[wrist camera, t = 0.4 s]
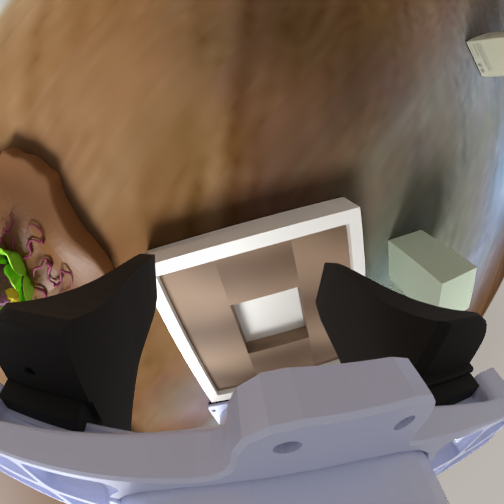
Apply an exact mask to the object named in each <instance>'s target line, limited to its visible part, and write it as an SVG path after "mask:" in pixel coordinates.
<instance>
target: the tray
mask: <svg viewBox="0 0 504 504" xmlns="http://www.w3.org/2000/svg"><path fill="white" fill-rule="evenodd" d="M342 225H346V227H347V236H348V245H349V255H350V267H351V269H352V270H354V271H356V272H358V273H360V274H362V275H363V276H365V258H364V243H363V231H362V220H361V211H360V207H359V206H358V205H356V204H354V203H353V202H351V201H349V200H348V199H346V198H344V197H340V198H336V199H332V200H328V201H324V202H320V203H316V204H312V205H308V206H304V207H300V208H297V209H293V210H289V211H285V212H281V213H278V214H274V215H270V216H266V217H263V218H259V219H255V220H251V221H248V222H244V223H241V224H237V225H233V226H230V227H226V228H223V229H219V230H216V231H212V232H209V233H205V234H202V235H198V236H195V237H191V238H188V239H184V240H181V241H178V242H174V243H171V244H168V245H164V246H161V247H158V248H154V249H151V250H148V251H147V252H146V254H155V266H156V283H157V302H156V307H157V309H158V311H159V313H160V315H161V316H162V318H163V320H164V322H165V324H166V326H167V328H168V330H169V332H170V333H171V335H172V337H173V339H174V341H175V343H176V344H177V346H178V348H179V350H180V351H181V353H182V355H183V357H184V358H185V360H186V362H187V364H188V365H189V367H190V369H191V370H192V372H193V374H194V375H195V377H196V379H197V380H198V382H199V383H200V385H201V387H202V388H203V390H204V391H205V393H206V395H207V396H208V398H209V399H210V401H211V402H217V401H223V400H228V399H230V398H231V396H232V394H233V392H234V391H235V389H236V387H234V388H230V389H225V390H220V391H217V389H216V387H215V386H214V384H213V382H212V380H211V379H210V377H209V375H208V373H207V371H206V370H205V368H204V366H203V364H202V362H201V361H200V359H199V357H198V355H197V353H196V351H195V349H194V347H193V346H192V344H191V342H190V340H189V338H188V336H187V334H186V332H185V330H184V328H183V326H182V324H181V322H180V320H179V318H178V316H177V314H176V312H175V310H174V308H173V306H172V304H171V301H170V299H169V297H168V295H167V293H166V291H165V288H164V286H163V284H162V282H161V280H160V277H159V276H160V275H164V274H168V273H171V272H175V271H178V270H182V269H186V268H189V267H193V266H197V265H200V264H204V263H207V262H211V261H215V260H218V259H222V258H226V257H229V256H233V255H237V254H240V253H244V252H247V251H251V250H255V249H258V248H262V247H266V246H269V245H273V244H277V243H280V242H284V241H287V240H291V239H295V238H298V237H302V236H306V235H309V234H313V233H317V232H320V231H324V230H328V229H331V228H335V227H339V226H342ZM233 306H234V309H235V312H236V314H237V317H238V320H239V323H240V325H241V328H242V331H243V334H244V336H245V339H246V342H248V341H252V340H256V339H260V338H264V337H268V336H271V335H275V334H279V333H282V332H286V331H289V330H293V329H296V328H300V327H303V326H304V320H303V315H302V309H301V304H300V299H299V294H298V289H297V287H296V288H293V289H289V290H286V291H282V292H279V293H275V294H272V295H268V296H264V297H261V298H257V299H253V300H250V301H246V302H242V303H238V304H234V305H233ZM330 364H340V360H339V359H337V360H334V361H331V362H328V363H325V364H322V365H330Z"/></svg>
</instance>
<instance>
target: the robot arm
mask: <svg viewBox="0 0 504 504" xmlns="http://www.w3.org/2000/svg"><path fill="white" fill-rule="evenodd" d="M156 302H157V283H156V266H155V254H139V255H137V256H135V257H133V258H132V259H130V260H128V261H127V262H125V263H123V264H122V265H120V266H119V267H117V268H115V269H114V270H112V271H110V272H108V273H106V274H105V275H103V276H101V277H99V278H97V279H95V280H93V281H91V282H89V283H87V284H85V285H82V286H80V287H77V288H75V289H72V290H69V291H66V292H63V293H60V294H57V295H53V296H49V297H44V298H40V299H35V300H28V301H20V302H10V303H6V304H5V305H4V306H3V307H2V309H1V310H0V366H1V368H2V370H3V371H4V373H5V375H6V377H7V378H8V380H7V381H6V383H5V385H4V386H3V385H2V384H1V383H0V471H2V472H3V473H5V474H7V475H9V476H11V477H12V478H14V479H16V480H18V481H20V482H22V483H23V484H25V485H27V486H29V487H31V488H33V489H35V490H37V491H39V492H41V493H44V494H46V495H48V496H50V497H52V498H55V499H57V500H59V501H62V502H64V503H67V504H449V502H448V500H447V497H446V495H445V493H444V491H443V489H442V487H441V485H440V483H439V481H438V478H437V477H436V476H437V475H439V474H440V473H442V472H443V471H445V470H447V469H448V468H450V467H452V466H453V465H455V464H456V463H458V462H459V461H461V460H463V459H464V458H466V457H467V456H468V455H470V454H472V453H473V452H474V451H476V450H477V449H479V448H480V447H481V446H483V445H485V444H486V443H487V442H488V441H489V440H490V439H491V438H492V437H493V436H494V435H495V434H496V433H497V432H498V431H499V430H500V429H501V428H502V427H503V426H504V380H503V379H502V378H501V377H500V376H499V374H498V373H497V372H496V371H495V370H494V368H490V369H488V370H486V371H484V372H481V373H480V374H478V375H477V376H476V377H475V378H474V377H473V376H472V375H471V374H470V372H472V371H473V367H472V366H471V364H470V361H471V360H472V358H473V357H474V355H475V353H476V351H477V350H478V348H479V346H480V345H481V343H482V341H483V339H484V336H485V333H486V326H487V324H486V321H485V319H483V317H482V316H481V315H480V314H478V313H476V312H469V311H461V310H453V309H448V308H443V307H439V306H435V305H431V304H427V303H424V302H421V301H418V300H415V299H412V298H409V297H407V296H404V295H402V294H399V293H397V292H395V291H392V290H390V289H388V288H386V287H384V286H382V285H380V284H378V283H376V282H374V281H373V280H371V279H369V278H367V277H365V276H363V275H362V274H360V273H358V272H356V271H354V270H352V269H350V268H348V267H346V266H344V265H342V264H339V263H325V264H324V268H323V272H322V277H321V281H320V285H319V289H318V293H317V297H316V301H315V303H316V306H317V310H318V313H319V316H320V320H321V322H322V324H323V326H324V328H325V330H326V333H327V335H328V337H329V339H330V341H331V343H332V345H333V347H334V349H335V351H336V353H337V356H338V358H339V360H340V364H330V365H319V366H305V367H287V368H282V369H278V370H273V371H268V372H263V373H260V374H258V375H256V376H255V377H253V378H251V379H250V380H248V381H246V382H244V383H243V384H241V385H239V386H237V387H236V389H235V391H234V392H233V394H232V396H231V398H230V400H229V401H226V402H221V403H215V404H210V405H208V409H209V411H210V412H211V414H212V415H213V416H214V418H215V419H216V421H217V422H218V423H219V425H214V426H208V427H200V428H192V429H183V430H173V431H160V432H141V433H139V432H133V431H131V419H132V408H133V398H134V390H135V383H136V377H137V371H138V365H139V361H140V357H141V353H142V350H143V347H144V344H145V341H146V338H147V335H148V332H149V329H150V326H151V323H152V320H153V317H154V313H155V308H156Z"/></svg>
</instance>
